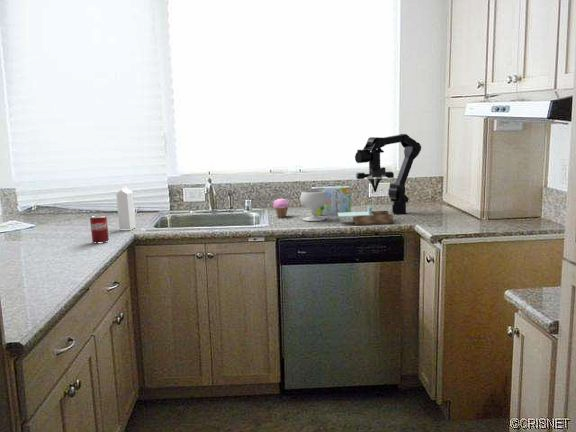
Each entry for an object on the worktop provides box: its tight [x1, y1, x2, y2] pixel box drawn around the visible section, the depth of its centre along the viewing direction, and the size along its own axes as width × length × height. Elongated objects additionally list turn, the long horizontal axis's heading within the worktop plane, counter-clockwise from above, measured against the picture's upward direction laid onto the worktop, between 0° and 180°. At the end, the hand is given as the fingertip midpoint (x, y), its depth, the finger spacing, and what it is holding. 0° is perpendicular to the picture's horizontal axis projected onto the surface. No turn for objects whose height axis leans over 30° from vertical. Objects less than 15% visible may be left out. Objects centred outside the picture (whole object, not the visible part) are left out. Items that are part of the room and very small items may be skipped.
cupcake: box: [272, 198, 290, 218], centre depth 318 cm, size 9×9×10 cm
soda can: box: [89, 214, 110, 243], centre depth 269 cm, size 7×7×12 cm
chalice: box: [299, 189, 327, 222], centre depth 305 cm, size 14×14×15 cm
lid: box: [337, 205, 374, 218], centre depth 291 cm, size 17×10×4 cm, turn 91°
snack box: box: [310, 185, 352, 216], centre depth 319 cm, size 21×6×15 cm, turn 84°
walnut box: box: [352, 210, 394, 226], centre depth 292 cm, size 18×12×5 cm, turn 91°
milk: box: [115, 185, 137, 230], centre depth 297 cm, size 6×6×22 cm
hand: (375, 191), depth 306 cm, fingers closed
